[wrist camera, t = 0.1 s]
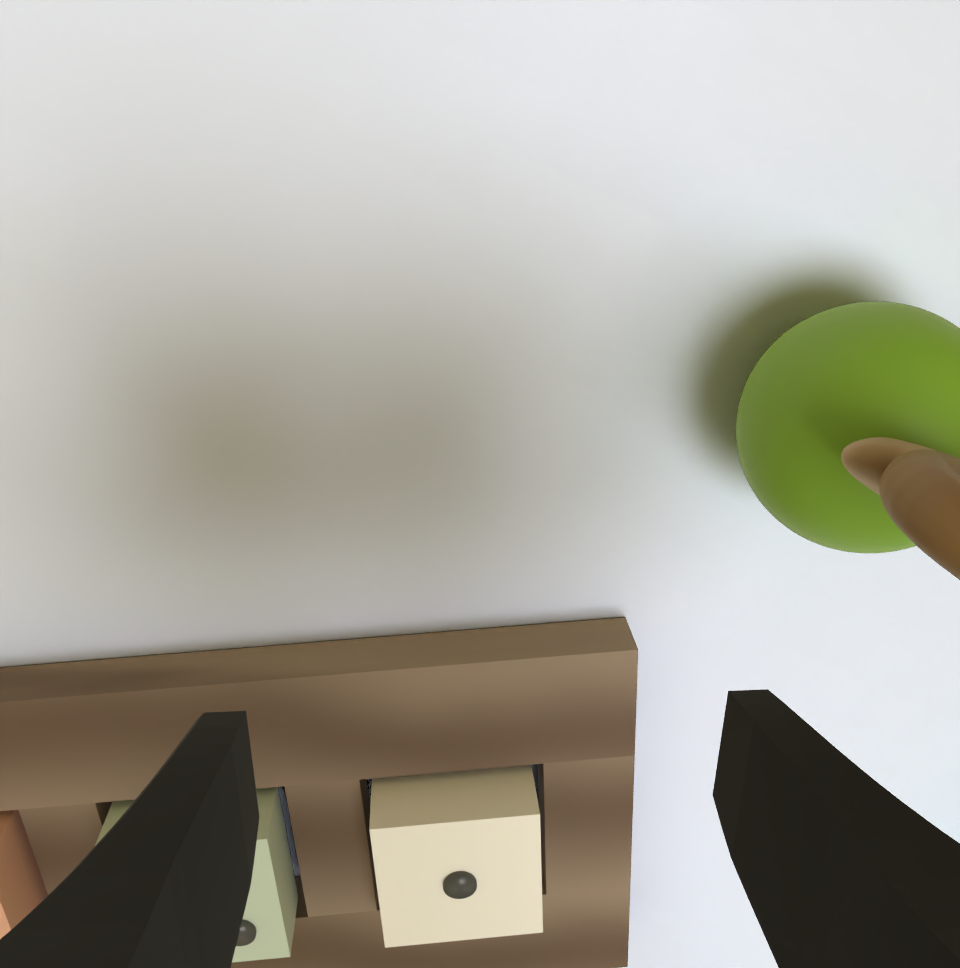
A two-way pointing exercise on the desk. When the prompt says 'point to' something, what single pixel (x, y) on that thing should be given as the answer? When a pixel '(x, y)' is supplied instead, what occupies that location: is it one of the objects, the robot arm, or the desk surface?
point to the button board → (359, 766)
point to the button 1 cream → (457, 855)
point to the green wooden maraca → (859, 430)
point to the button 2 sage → (258, 883)
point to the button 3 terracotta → (17, 873)
